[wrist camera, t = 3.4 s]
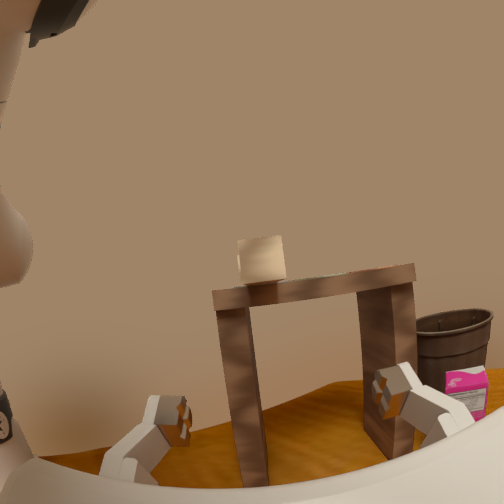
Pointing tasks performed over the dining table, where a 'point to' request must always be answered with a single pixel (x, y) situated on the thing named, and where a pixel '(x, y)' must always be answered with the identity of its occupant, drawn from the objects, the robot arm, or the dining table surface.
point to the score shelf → (372, 343)
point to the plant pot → (451, 343)
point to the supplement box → (469, 389)
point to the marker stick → (261, 261)
